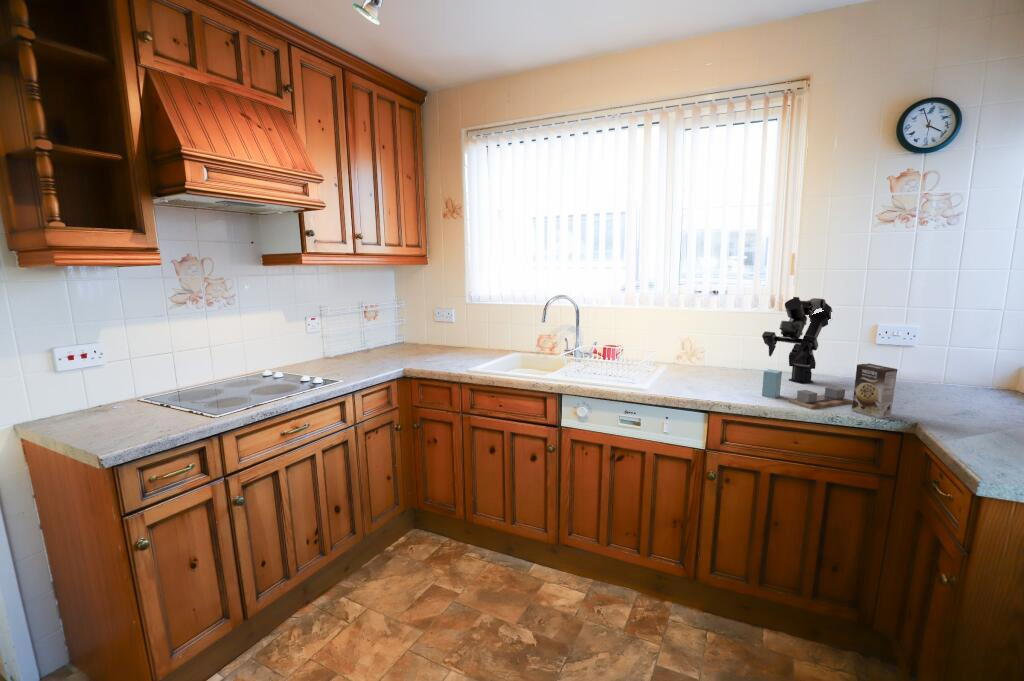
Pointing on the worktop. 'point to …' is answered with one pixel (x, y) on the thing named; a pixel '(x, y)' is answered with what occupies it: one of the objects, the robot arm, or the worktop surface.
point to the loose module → (771, 383)
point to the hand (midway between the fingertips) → (782, 357)
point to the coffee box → (874, 390)
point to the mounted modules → (812, 396)
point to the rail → (821, 399)
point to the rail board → (821, 403)
